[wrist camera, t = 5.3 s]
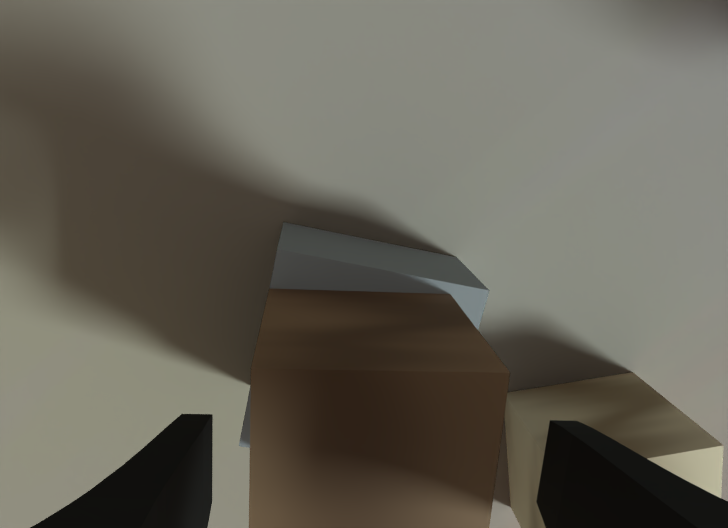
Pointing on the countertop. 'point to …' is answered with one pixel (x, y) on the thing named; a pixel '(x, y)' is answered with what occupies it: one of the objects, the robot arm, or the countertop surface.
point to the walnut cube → (372, 413)
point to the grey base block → (367, 273)
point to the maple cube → (614, 419)
